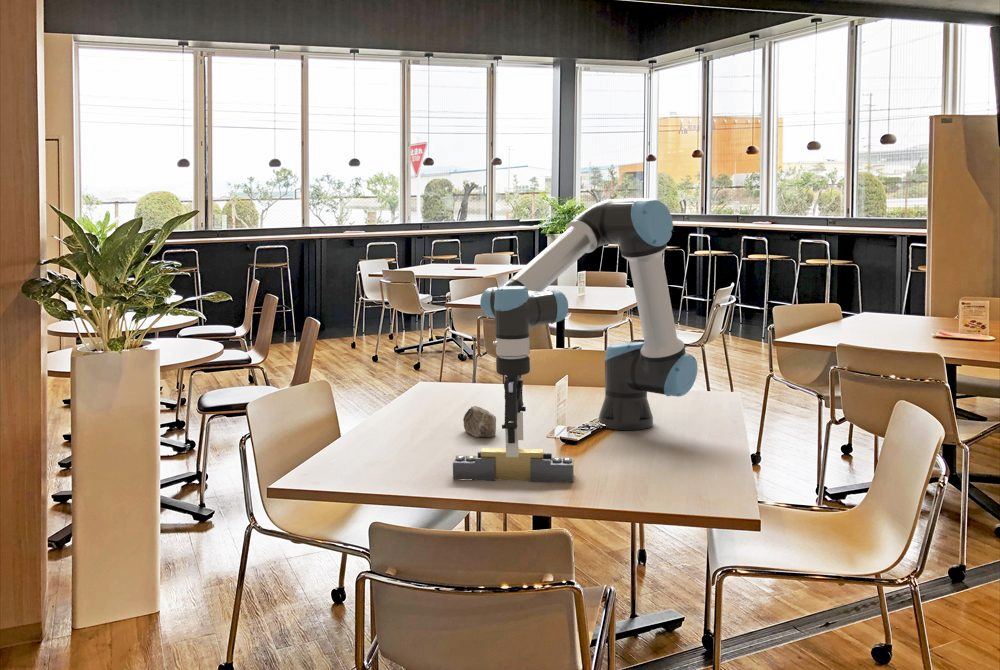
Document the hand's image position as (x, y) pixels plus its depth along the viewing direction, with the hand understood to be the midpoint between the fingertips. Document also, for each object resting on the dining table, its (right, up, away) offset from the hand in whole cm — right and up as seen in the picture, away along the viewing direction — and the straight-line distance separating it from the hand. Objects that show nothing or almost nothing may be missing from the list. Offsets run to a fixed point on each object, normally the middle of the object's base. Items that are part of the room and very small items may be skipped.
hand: (515, 448), depth 202 cm
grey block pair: (0, -7, +1) cm, 7 cm away
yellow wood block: (-1, -7, 0) cm, 7 cm away
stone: (-9, -2, +40) cm, 41 cm away
